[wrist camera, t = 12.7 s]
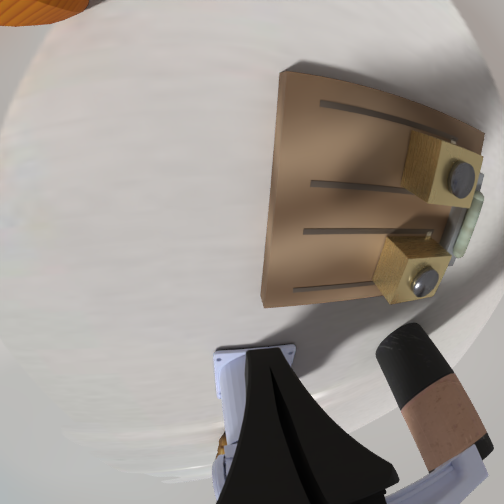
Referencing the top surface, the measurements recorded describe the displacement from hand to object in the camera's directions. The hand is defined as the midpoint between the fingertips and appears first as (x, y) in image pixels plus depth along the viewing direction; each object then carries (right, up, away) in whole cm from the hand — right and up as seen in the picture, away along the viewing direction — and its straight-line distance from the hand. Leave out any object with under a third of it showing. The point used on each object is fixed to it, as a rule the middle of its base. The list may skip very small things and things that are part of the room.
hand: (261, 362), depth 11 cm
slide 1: (+12, +11, +5) cm, 17 cm away
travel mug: (+18, -7, +19) cm, 28 cm away
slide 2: (+12, +4, +9) cm, 15 cm away
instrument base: (+10, +8, +8) cm, 15 cm away
